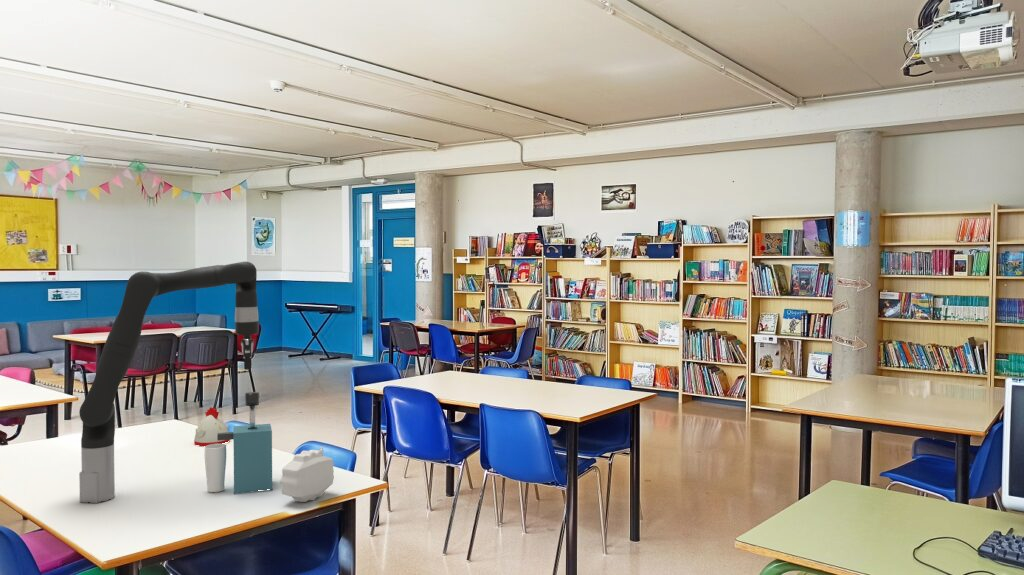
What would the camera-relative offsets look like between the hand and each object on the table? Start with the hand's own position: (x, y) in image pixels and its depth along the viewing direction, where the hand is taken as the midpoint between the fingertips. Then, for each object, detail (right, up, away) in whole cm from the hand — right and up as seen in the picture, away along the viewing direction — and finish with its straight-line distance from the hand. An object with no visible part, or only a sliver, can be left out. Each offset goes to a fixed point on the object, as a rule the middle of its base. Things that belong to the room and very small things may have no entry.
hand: (247, 367), depth 254 cm
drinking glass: (-9, -41, -5) cm, 42 cm away
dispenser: (0, -40, -2) cm, 40 cm away
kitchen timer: (-38, -39, +63) cm, 83 cm away
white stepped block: (+24, -41, -15) cm, 50 cm away
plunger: (+2, -23, -2) cm, 23 cm away
